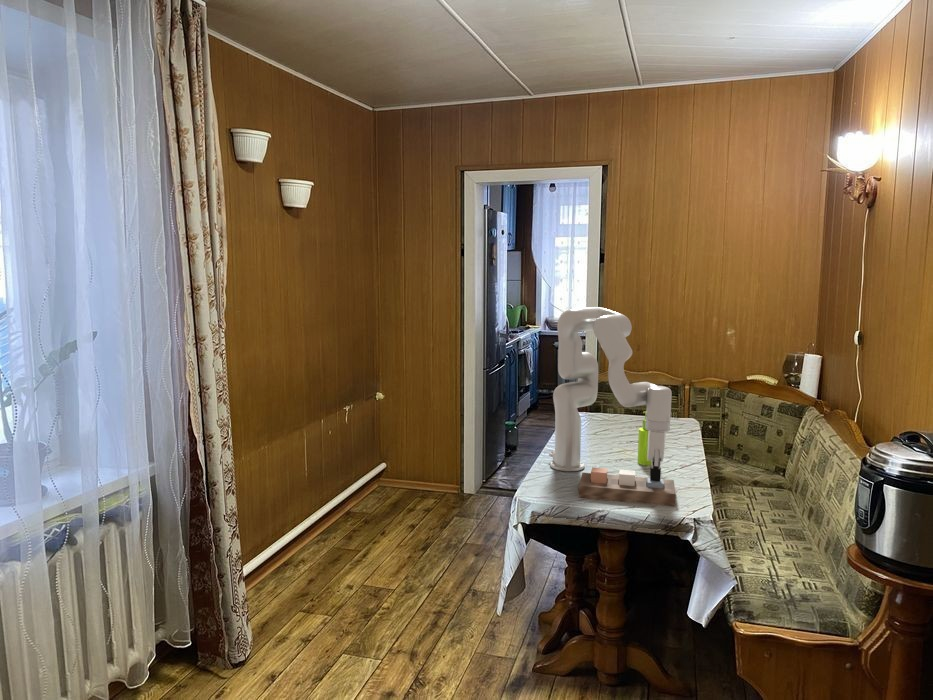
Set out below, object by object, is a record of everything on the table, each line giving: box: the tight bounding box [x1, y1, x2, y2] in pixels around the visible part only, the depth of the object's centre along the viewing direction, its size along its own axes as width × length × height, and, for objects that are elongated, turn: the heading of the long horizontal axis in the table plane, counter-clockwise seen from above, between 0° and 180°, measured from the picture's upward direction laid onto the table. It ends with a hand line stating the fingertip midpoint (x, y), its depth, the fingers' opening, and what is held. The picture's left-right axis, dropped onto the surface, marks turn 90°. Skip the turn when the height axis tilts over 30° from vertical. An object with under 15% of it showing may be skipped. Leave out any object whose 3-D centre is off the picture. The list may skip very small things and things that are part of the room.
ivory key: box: [618, 469, 636, 486], centre depth 218 cm, size 5×5×4 cm
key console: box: [577, 472, 677, 507], centre depth 219 cm, size 30×14×4 cm, turn 75°
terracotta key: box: [590, 466, 608, 484], centre depth 221 cm, size 5×5×4 cm
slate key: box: [646, 477, 664, 489], centre depth 216 cm, size 5×5×4 cm
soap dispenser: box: [637, 410, 652, 466], centre depth 252 cm, size 6×7×20 cm
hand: (655, 479), depth 216 cm, fingers closed
